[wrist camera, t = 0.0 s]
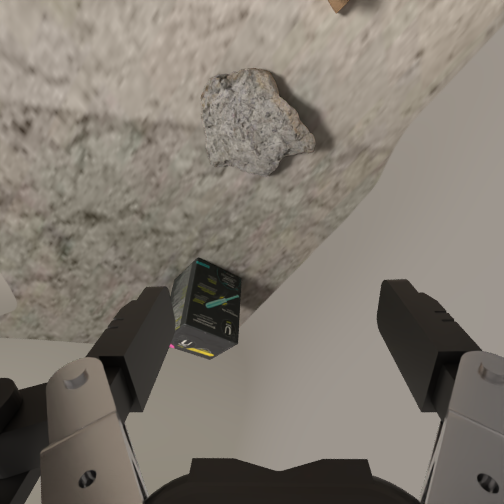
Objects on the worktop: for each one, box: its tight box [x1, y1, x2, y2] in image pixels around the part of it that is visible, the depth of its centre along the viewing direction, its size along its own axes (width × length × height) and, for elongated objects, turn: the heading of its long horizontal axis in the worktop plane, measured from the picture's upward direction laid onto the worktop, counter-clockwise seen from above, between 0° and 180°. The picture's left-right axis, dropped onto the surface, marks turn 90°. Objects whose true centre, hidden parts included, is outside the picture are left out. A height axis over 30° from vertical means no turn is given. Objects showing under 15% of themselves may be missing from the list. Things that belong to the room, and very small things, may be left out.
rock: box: [201, 68, 316, 177], centre depth 37 cm, size 14×4×15 cm
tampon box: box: [169, 258, 241, 360], centre depth 56 cm, size 11×9×15 cm
